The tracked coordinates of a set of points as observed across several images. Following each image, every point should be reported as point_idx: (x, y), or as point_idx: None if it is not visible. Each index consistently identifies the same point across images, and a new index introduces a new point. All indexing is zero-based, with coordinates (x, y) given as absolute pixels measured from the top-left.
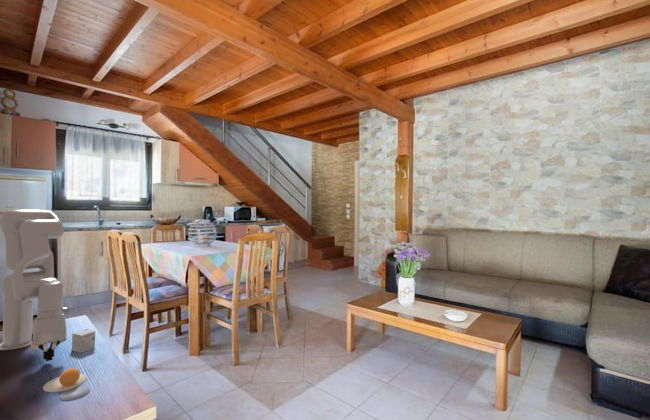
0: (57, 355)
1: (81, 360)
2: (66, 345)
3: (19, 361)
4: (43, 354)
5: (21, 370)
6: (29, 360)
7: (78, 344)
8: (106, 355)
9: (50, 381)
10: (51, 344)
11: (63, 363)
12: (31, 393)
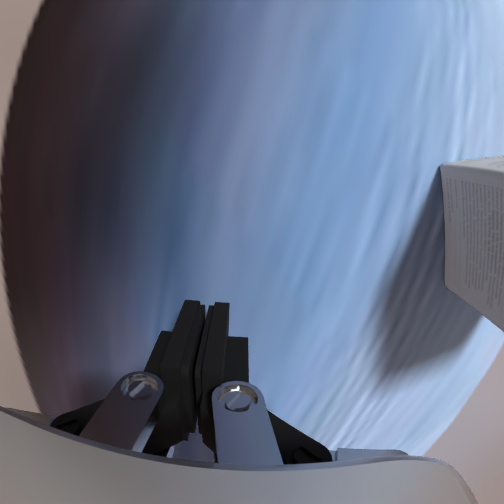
0: (327, 180)
1: (366, 409)
2: (436, 18)
3: (70, 74)
4: (153, 355)
5: (57, 287)
6: (118, 104)
7: (486, 283)
8: (447, 413)
9: None
10: (224, 437)
11: (285, 388)
12: None
